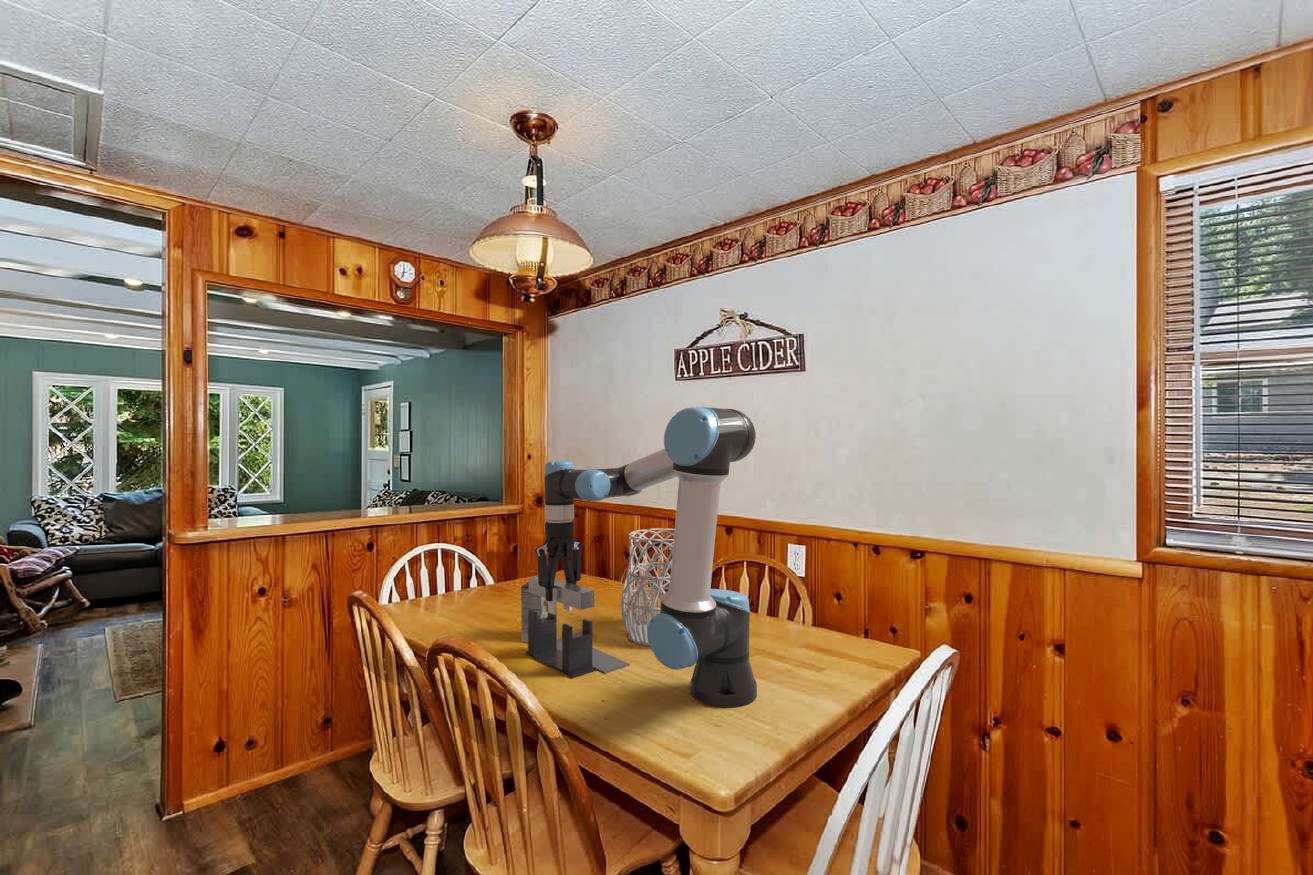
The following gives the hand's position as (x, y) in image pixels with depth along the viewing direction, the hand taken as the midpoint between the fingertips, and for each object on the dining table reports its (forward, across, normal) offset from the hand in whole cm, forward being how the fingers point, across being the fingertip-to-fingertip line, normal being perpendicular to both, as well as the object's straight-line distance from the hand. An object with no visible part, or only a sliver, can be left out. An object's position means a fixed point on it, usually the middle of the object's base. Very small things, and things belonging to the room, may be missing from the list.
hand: (560, 611), depth 155 cm
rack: (+13, 0, 0) cm, 13 cm away
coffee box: (+13, -6, -20) cm, 25 cm away
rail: (-3, 0, 0) cm, 3 cm away
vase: (+14, -34, +2) cm, 37 cm away
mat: (+13, -8, 0) cm, 15 cm away
